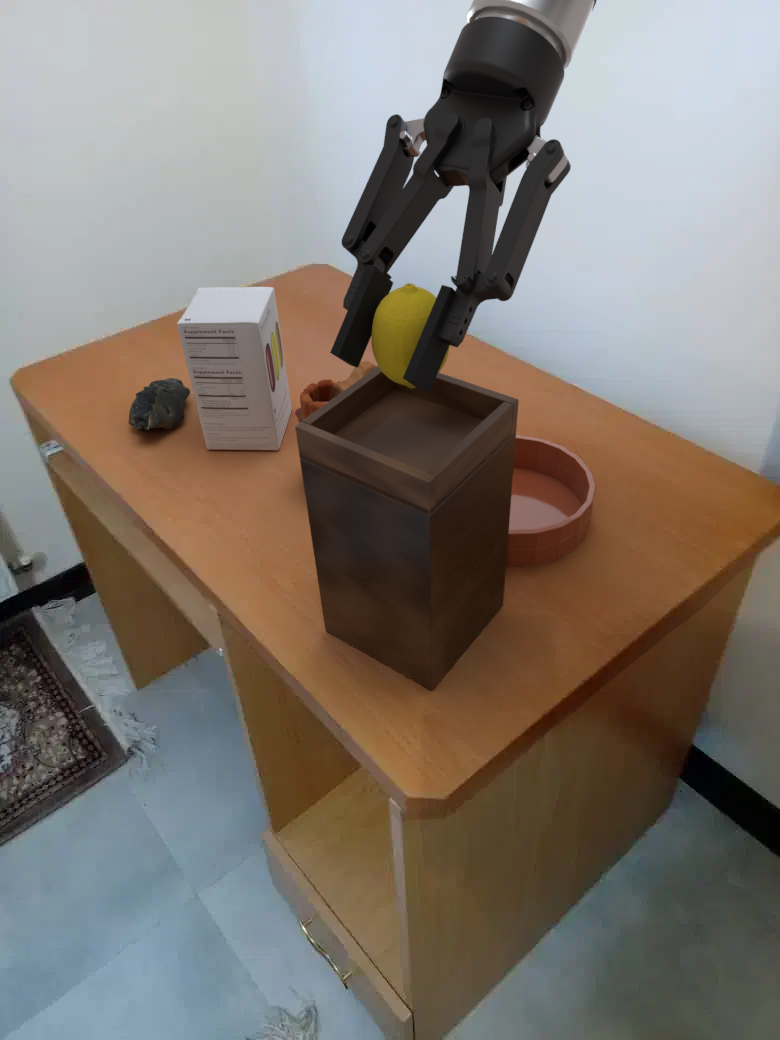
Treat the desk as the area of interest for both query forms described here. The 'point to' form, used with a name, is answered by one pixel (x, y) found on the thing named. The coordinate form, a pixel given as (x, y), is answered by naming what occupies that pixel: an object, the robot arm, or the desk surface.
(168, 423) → the stone
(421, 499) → the tray
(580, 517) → the bowl
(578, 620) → the desk surface
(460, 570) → the stand
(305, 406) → the mug
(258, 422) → the supplement box
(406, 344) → the lemon
